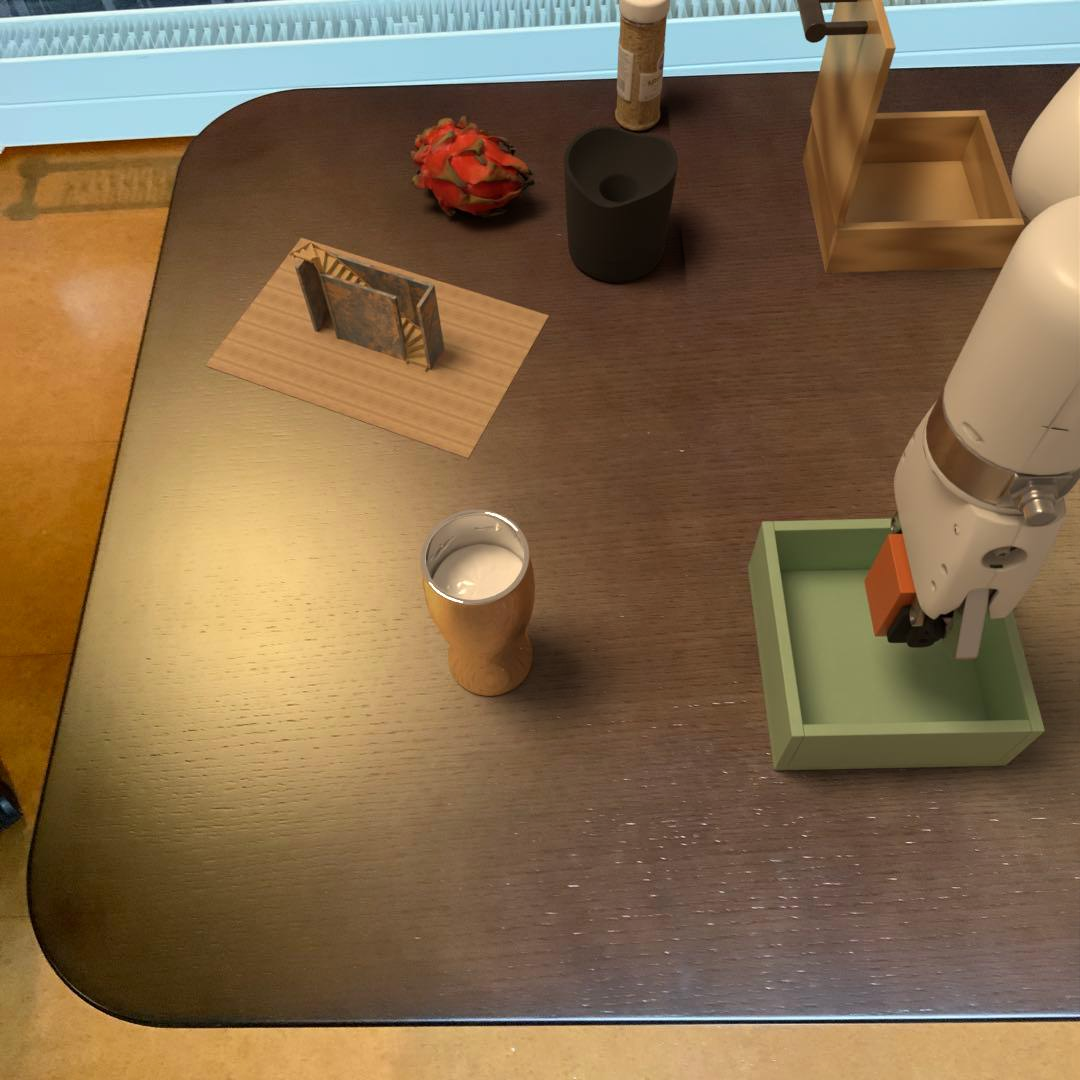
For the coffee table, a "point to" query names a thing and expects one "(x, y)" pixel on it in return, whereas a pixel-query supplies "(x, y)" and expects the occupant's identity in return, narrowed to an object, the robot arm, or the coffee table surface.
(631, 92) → the spice jar
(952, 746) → the open box
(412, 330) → the architectural model on board
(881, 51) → the lid
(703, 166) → the coffee table surface
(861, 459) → the coffee table surface
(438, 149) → the dragon fruit
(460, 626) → the beer glass
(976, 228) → the chest
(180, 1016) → the coffee table surface
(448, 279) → the coffee table surface
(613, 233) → the pen holder
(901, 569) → the block
